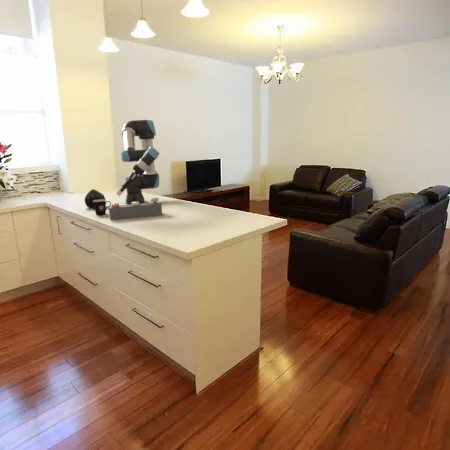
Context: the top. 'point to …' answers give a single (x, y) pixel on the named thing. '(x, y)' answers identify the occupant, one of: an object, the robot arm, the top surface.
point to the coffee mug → (100, 206)
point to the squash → (93, 198)
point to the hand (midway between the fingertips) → (117, 194)
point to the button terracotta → (115, 205)
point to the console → (135, 211)
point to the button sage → (154, 200)
